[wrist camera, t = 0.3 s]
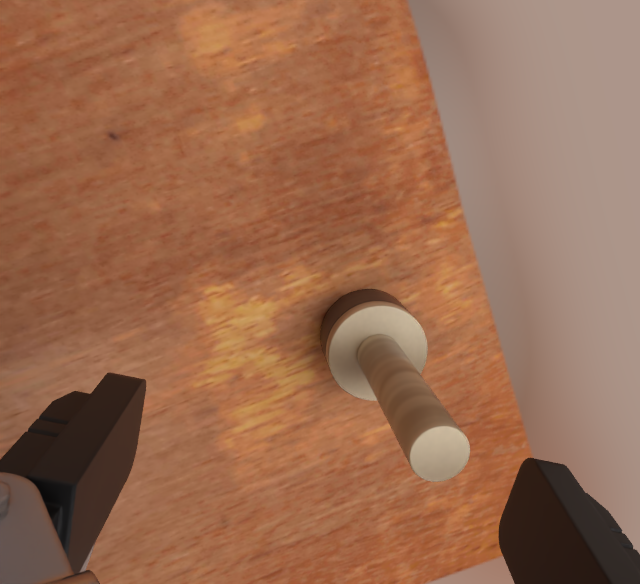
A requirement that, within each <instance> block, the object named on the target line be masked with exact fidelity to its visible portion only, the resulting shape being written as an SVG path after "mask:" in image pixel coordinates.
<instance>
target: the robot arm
mask: <svg viewBox="0 0 640 584" xmlns="http://www.w3.org/2000/svg"><path fill="white" fill-rule="evenodd" d="M145 392H146V380H144V379H139V378H135V377H130V376H125V375H120V374H115V373H107V374H106V375H105V377H104V378H103V379H102V380H101V382H100V383H99V384H98V385H97V387H96V388H95V389H94V391H93V392H92V393H91V394H88V393H83V392H78V391H74V392H71V393H69V394H67V395H65V396H63V397H61V398H59V399H57V400H55V401H53V402H52V403H51V404H50V405H49V406H48V407H47V408H46V410H45V411H44V412H43V413H42V414H41V415H40V417H39V419H37V420H36V421H35V422H34V423H33V424H32V425H31V426H30V427H29V429H28V432H25V433H24V434H23V435H22V436H21V437H20V439H19V440H18V441H17V442H16V443H15V444H14V445H13V446H12V447H11V449H10V450H9V451H8V452H7V453H6V454H5V455H4V456H3V458H2V459H1V460H0V584H100V583H99V581H98V579H97V577H96V576H95V575H94V573H93V572H92V571H90V570H86V571H83V572H80V571H81V569H82V567H83V565H84V563H85V561H86V559H87V557H88V555H89V553H90V551H91V549H92V547H93V545H94V543H95V541H96V539H97V537H98V535H99V533H100V531H101V529H102V528H103V526H104V524H105V522H106V520H107V518H108V516H109V514H110V512H111V510H112V508H113V506H114V504H115V502H116V500H117V498H118V496H119V494H120V492H121V490H122V488H123V486H124V484H125V482H126V480H127V478H128V476H129V474H130V471H131V468H132V465H133V462H134V458H135V454H136V449H137V444H138V437H139V431H140V424H141V418H142V412H143V405H144V399H145ZM499 545H500V549H501V552H502V554H503V556H504V559H505V561H506V564H507V566H508V568H509V571H510V573H511V576H512V578H513V580H514V583H515V584H640V554H639V553H638V552H637V550H634V549H633V545H632V543H631V542H630V541H629V539H628V538H627V536H626V535H625V534H623V533H622V530H621V528H620V527H619V525H618V524H617V523H616V521H615V520H614V518H613V517H612V516H611V514H610V513H609V512H608V511H607V510H606V509H605V508H604V507H603V506H602V505H600V504H599V503H598V502H597V501H596V500H594V499H593V498H592V497H591V496H590V495H589V494H587V493H585V492H584V490H583V489H582V487H581V486H580V485H579V483H578V482H577V480H576V479H575V477H574V476H573V475H572V473H571V472H570V470H569V469H568V468H567V466H565V465H563V464H558V463H553V462H548V461H543V460H538V459H534V458H527V459H526V460H525V461H524V462H523V463H522V465H521V467H520V469H519V472H518V474H517V477H516V480H515V482H514V485H513V488H512V490H511V493H510V496H509V498H508V501H507V504H506V506H505V509H504V512H503V514H502V517H501V520H500V525H499Z"/></svg>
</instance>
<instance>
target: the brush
mask: <svg viewBox="0 0 640 584" xmlns="http://www.w3.org/2000/svg"><path fill="white" fill-rule="evenodd" d="M320 340H321V346H322V349H323V352H324V355H325V358H326V360H327V363H328V366H329V368H330V371H331V373H332V375H333V378H334V379H335V381H336V382H337V383H338V385H339V386H340V387H341V388H342V389H343V390H345V391H346V392H347V393H349V394H351V395H353V396H355V397H357V398H360V399H365V400H378V402H379V404H380V406H381V408H382V410H383V412H384V414H385V416H386V418H387V420H388V422H389V424H390V426H391V428H392V430H393V432H394V434H395V436H396V438H397V440H398V442H399V444H400V446H401V448H402V450H403V452H404V454H405V456H406V458H407V460H408V462H409V464H410V466H411V468H412V469H413V471H414V472H415V473H416V474H417V475H418V476H419V477H421V478H422V479H425V480H427V481H432V482H439V481H445V480H448V479H450V478H452V477H454V476H456V475H457V474H458V473H459V472H460V471H461V470H462V469H463V468H464V467H465V465H466V463H467V461H468V459H469V454H470V446H469V442H468V439H467V438H466V436H465V435H464V433H463V432H462V430H461V429H460V428H459V426H458V425H457V424H456V422H455V421H454V420H453V418H452V417H451V416H450V414H449V413H448V411H447V410H446V409H445V407H444V406H443V405H442V403H441V402H440V401H439V399H438V398H437V396H436V395H435V394H434V392H433V391H432V390H431V388H430V387H429V386H428V384H427V383H426V381H425V380H424V379H423V377H422V376H421V375H420V374H421V372H422V370H423V368H424V366H425V362H426V358H427V349H428V348H427V340H426V336H425V333H424V331H423V329H422V327H421V325H420V324H419V323H418V321H417V320H416V319H415V318H414V317H413V316H412V315H411V314H410V313H409V312H408V310H407V309H406V308H405V307H404V306H403V305H402V304H401V303H400V302H399V301H398V300H397V299H396V298H394V297H393V296H391V295H390V294H388V293H385V292H383V291H379V290H373V289H364V290H358V291H354V292H351V293H349V294H347V295H345V296H343V297H342V298H340V299H339V300H338V301H336V302H335V303H334V304H333V305H332V306H331V308H330V309H329V310H328V312H327V313H326V315H325V317H324V320H323V322H322V326H321V331H320Z"/></svg>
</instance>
